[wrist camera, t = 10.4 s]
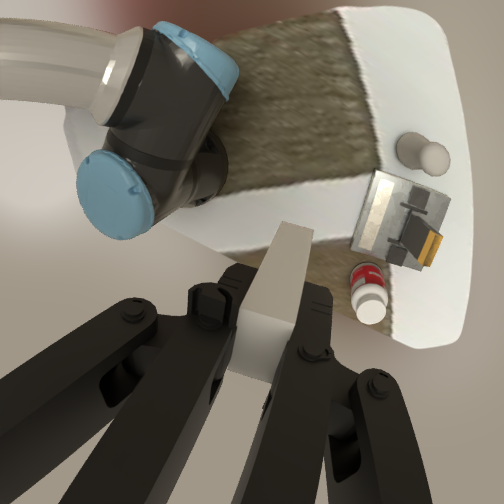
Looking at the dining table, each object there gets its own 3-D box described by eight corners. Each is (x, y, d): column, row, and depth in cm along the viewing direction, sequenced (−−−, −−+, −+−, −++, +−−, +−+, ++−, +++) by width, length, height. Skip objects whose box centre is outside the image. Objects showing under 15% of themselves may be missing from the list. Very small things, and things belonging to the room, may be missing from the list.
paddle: (396, 242, 43) (420, 268, 36) (409, 208, 40) (436, 231, 33) (404, 243, 43) (428, 269, 36) (417, 210, 40) (444, 233, 33)
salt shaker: (429, 162, 38) (461, 179, 27) (399, 170, 40) (422, 189, 29) (420, 128, 36) (451, 132, 25) (389, 135, 38) (410, 142, 27)
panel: (350, 244, 48) (350, 252, 46) (374, 168, 41) (377, 171, 39) (418, 266, 46) (422, 274, 43) (446, 195, 39) (453, 200, 37)
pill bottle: (388, 277, 49) (397, 314, 39) (362, 295, 52) (366, 334, 42) (369, 254, 48) (376, 288, 38) (343, 274, 51) (343, 310, 41)
